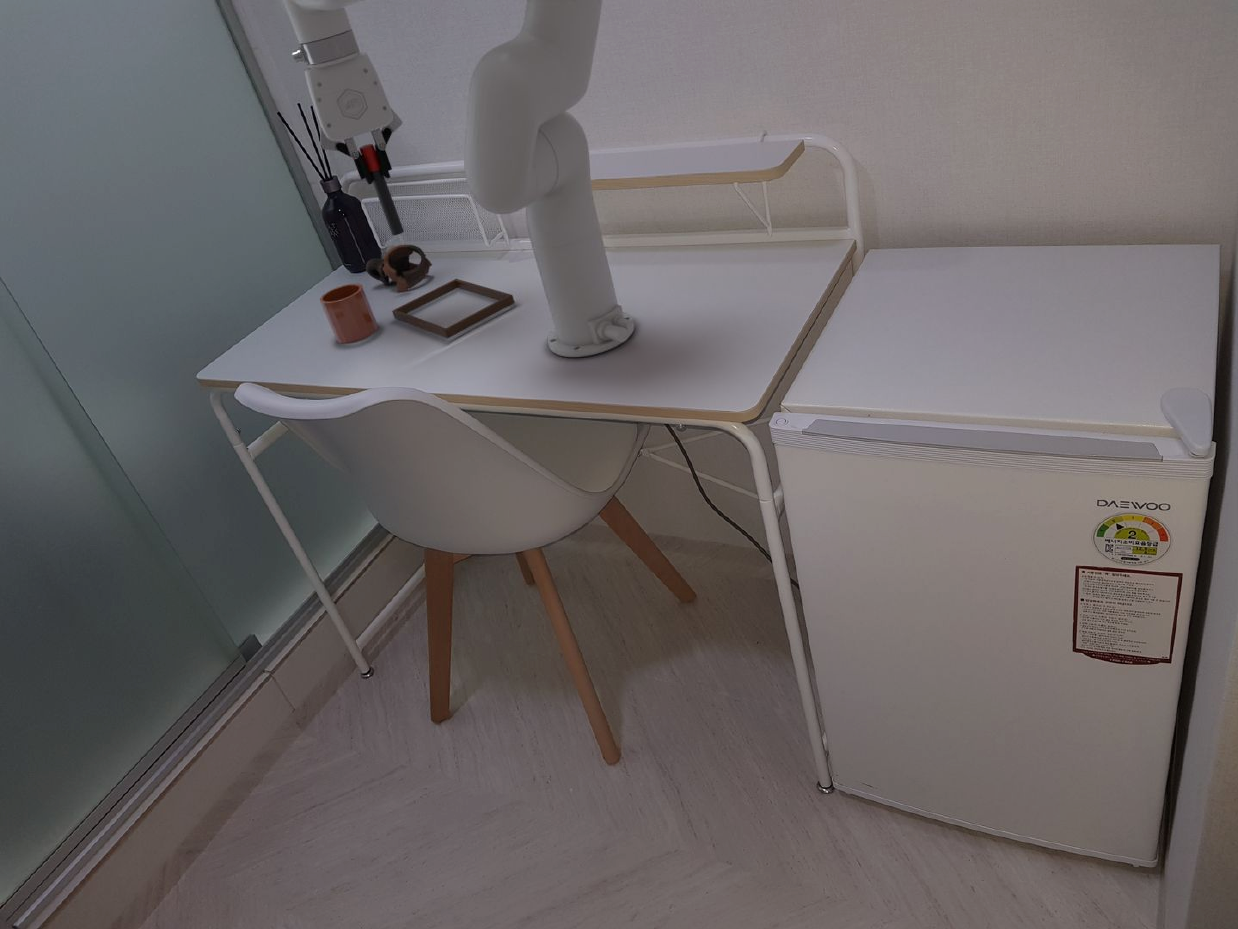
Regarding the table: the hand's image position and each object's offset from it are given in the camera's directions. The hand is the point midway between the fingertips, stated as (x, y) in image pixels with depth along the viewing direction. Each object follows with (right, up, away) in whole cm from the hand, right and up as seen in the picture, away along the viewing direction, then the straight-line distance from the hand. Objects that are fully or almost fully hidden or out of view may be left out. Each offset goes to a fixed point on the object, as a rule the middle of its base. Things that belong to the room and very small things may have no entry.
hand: (378, 178), depth 139 cm
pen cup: (-7, -22, +14) cm, 27 cm away
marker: (+2, -7, +5) cm, 9 cm away
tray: (+9, -18, +13) cm, 24 cm away
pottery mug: (-3, -11, +30) cm, 32 cm away
